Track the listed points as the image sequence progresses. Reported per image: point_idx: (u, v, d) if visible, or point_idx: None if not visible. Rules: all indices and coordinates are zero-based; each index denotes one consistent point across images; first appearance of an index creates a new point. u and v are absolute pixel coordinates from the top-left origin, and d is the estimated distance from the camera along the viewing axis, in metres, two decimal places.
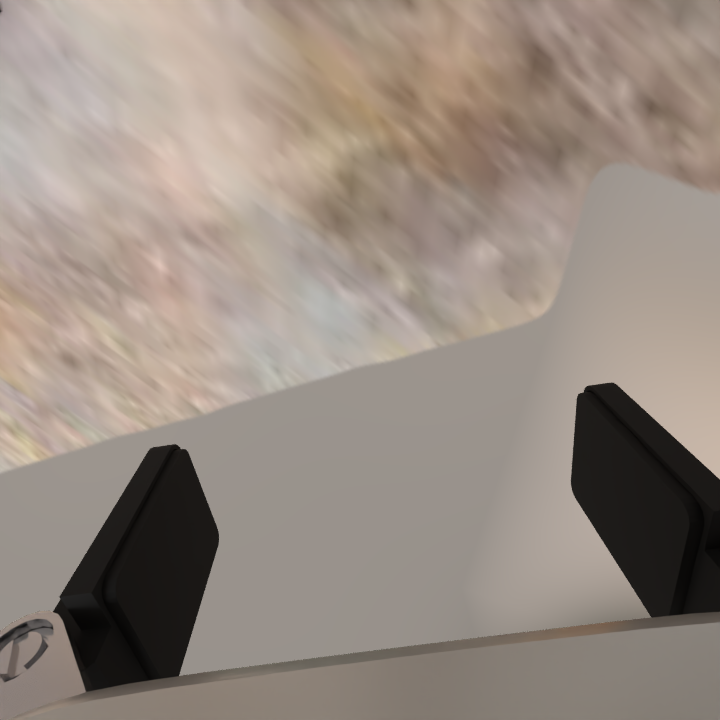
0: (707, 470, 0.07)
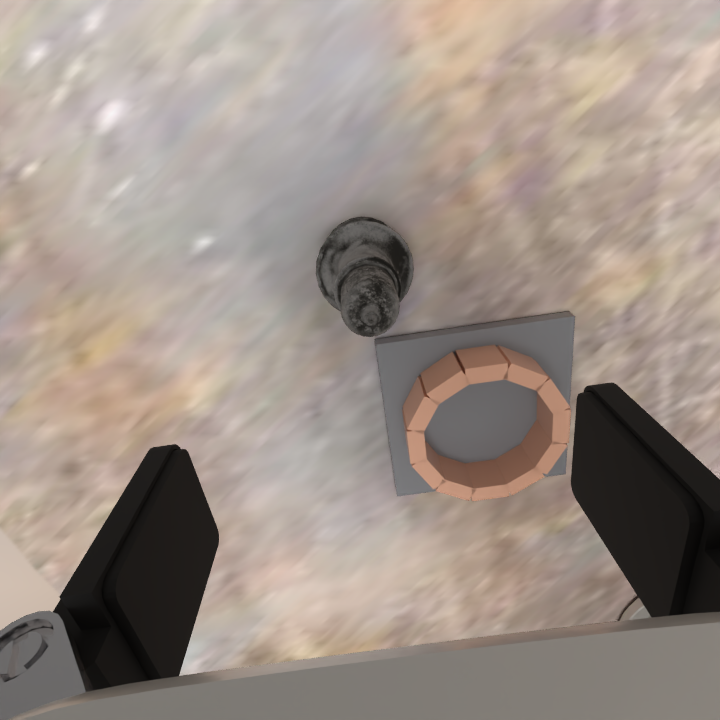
0: (707, 470, 0.07)
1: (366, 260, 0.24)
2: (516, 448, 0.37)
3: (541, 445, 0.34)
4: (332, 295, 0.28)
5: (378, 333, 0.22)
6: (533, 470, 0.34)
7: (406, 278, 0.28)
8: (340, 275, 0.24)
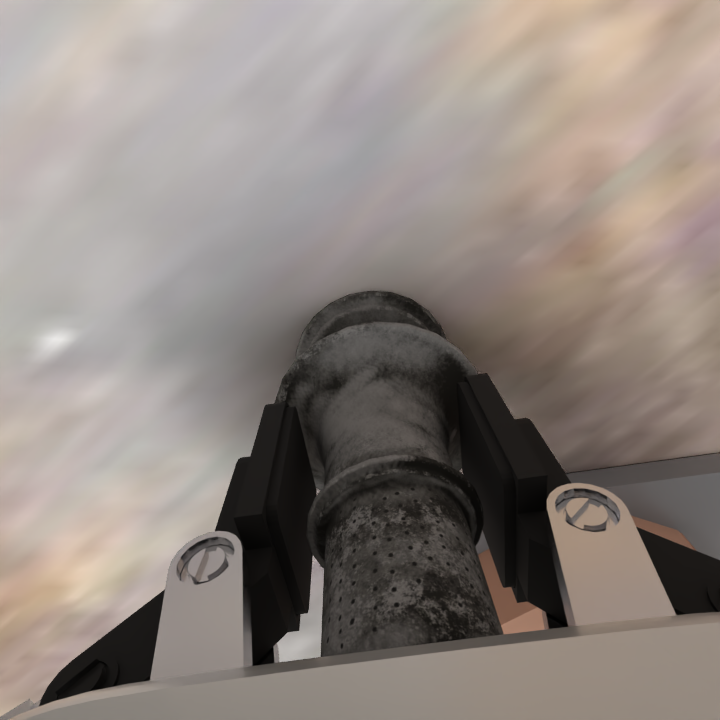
0: (528, 446, 0.09)
1: (395, 470, 0.08)
2: None
3: None
4: None
5: None
6: None
7: None
8: (323, 501, 0.09)
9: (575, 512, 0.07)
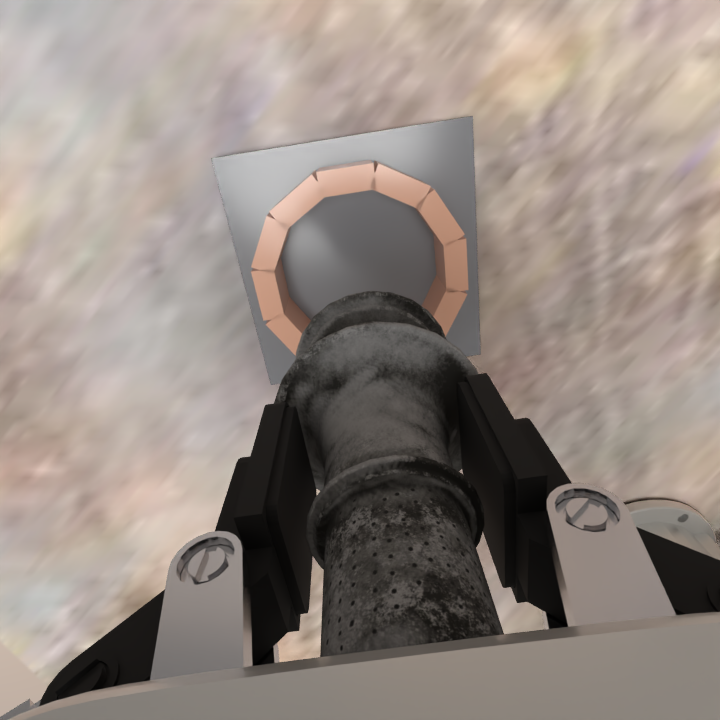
0: (528, 446, 0.09)
1: (395, 471, 0.08)
2: None
3: (437, 299, 0.26)
4: None
5: None
6: None
7: None
8: (323, 502, 0.09)
9: (575, 512, 0.07)
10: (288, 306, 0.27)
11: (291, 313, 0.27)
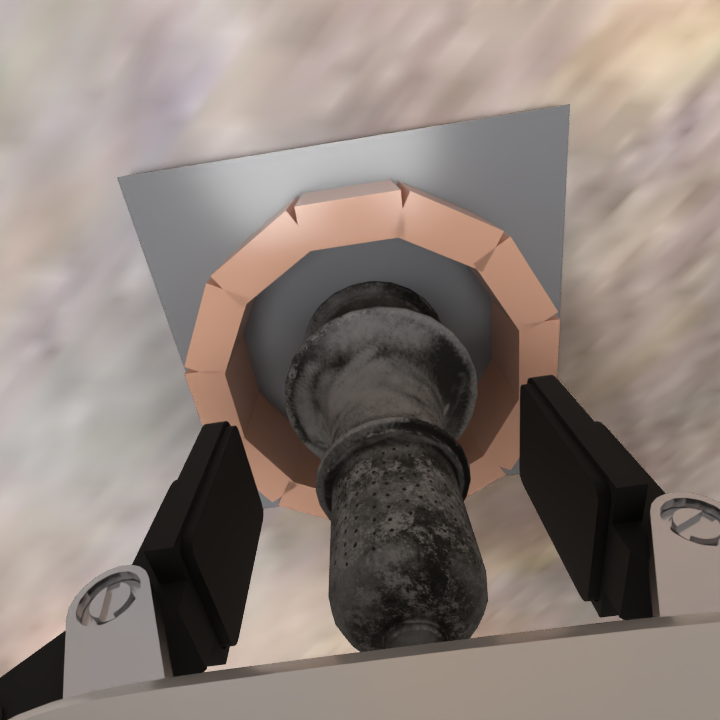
0: (618, 452, 0.08)
1: (392, 430, 0.10)
2: None
3: (499, 408, 0.16)
4: (318, 442, 0.15)
5: None
6: (481, 461, 0.16)
7: (463, 411, 0.14)
8: (330, 458, 0.10)
9: (684, 524, 0.07)
10: (255, 414, 0.17)
11: (259, 428, 0.16)
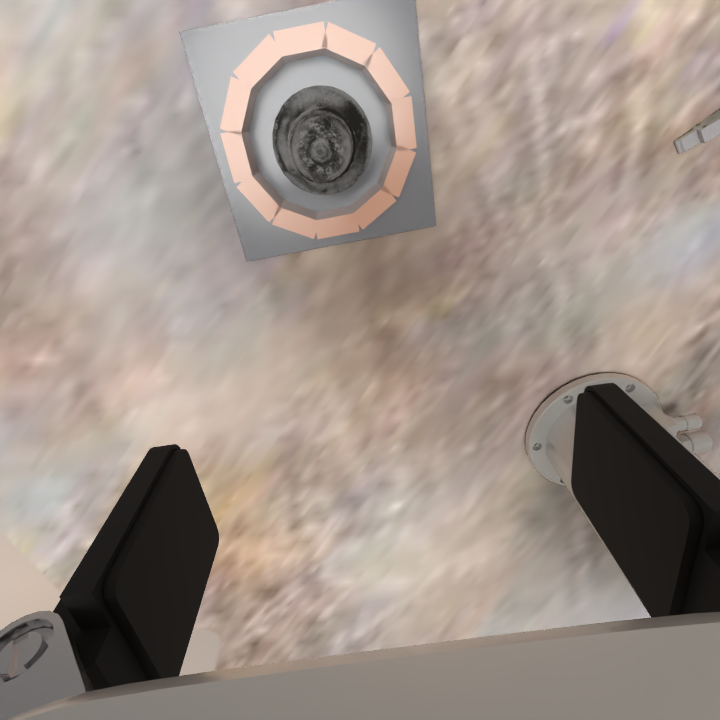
0: (707, 470, 0.07)
1: (318, 110, 0.23)
2: (372, 186, 0.32)
3: (390, 161, 0.29)
4: (291, 170, 0.28)
5: (331, 175, 0.22)
6: (381, 191, 0.29)
7: (366, 149, 0.28)
8: (292, 129, 0.23)
9: None
10: (257, 175, 0.30)
11: (259, 180, 0.30)
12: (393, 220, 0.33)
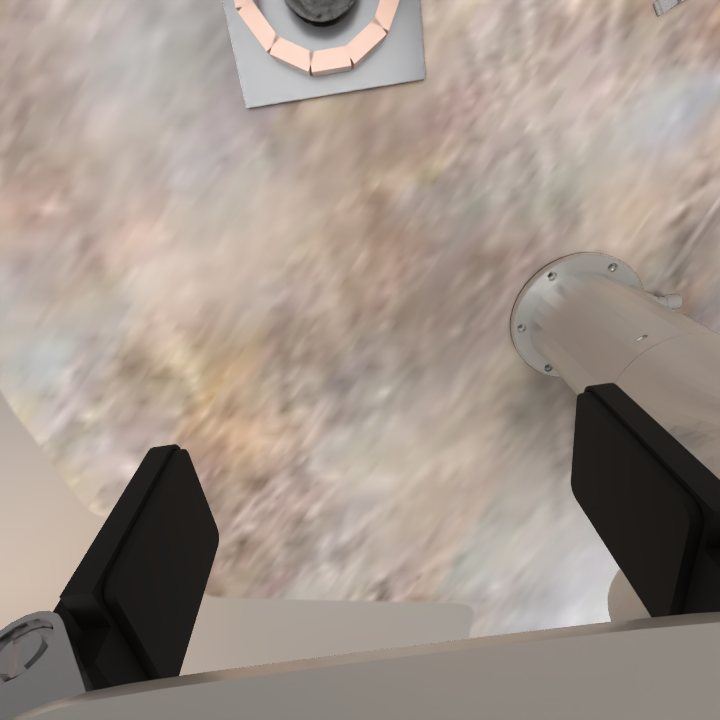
0: (707, 470, 0.07)
1: None
2: None
3: None
4: None
5: None
6: (372, 23, 0.31)
7: None
8: None
9: None
10: (257, 8, 0.32)
11: None
12: (385, 70, 0.35)
